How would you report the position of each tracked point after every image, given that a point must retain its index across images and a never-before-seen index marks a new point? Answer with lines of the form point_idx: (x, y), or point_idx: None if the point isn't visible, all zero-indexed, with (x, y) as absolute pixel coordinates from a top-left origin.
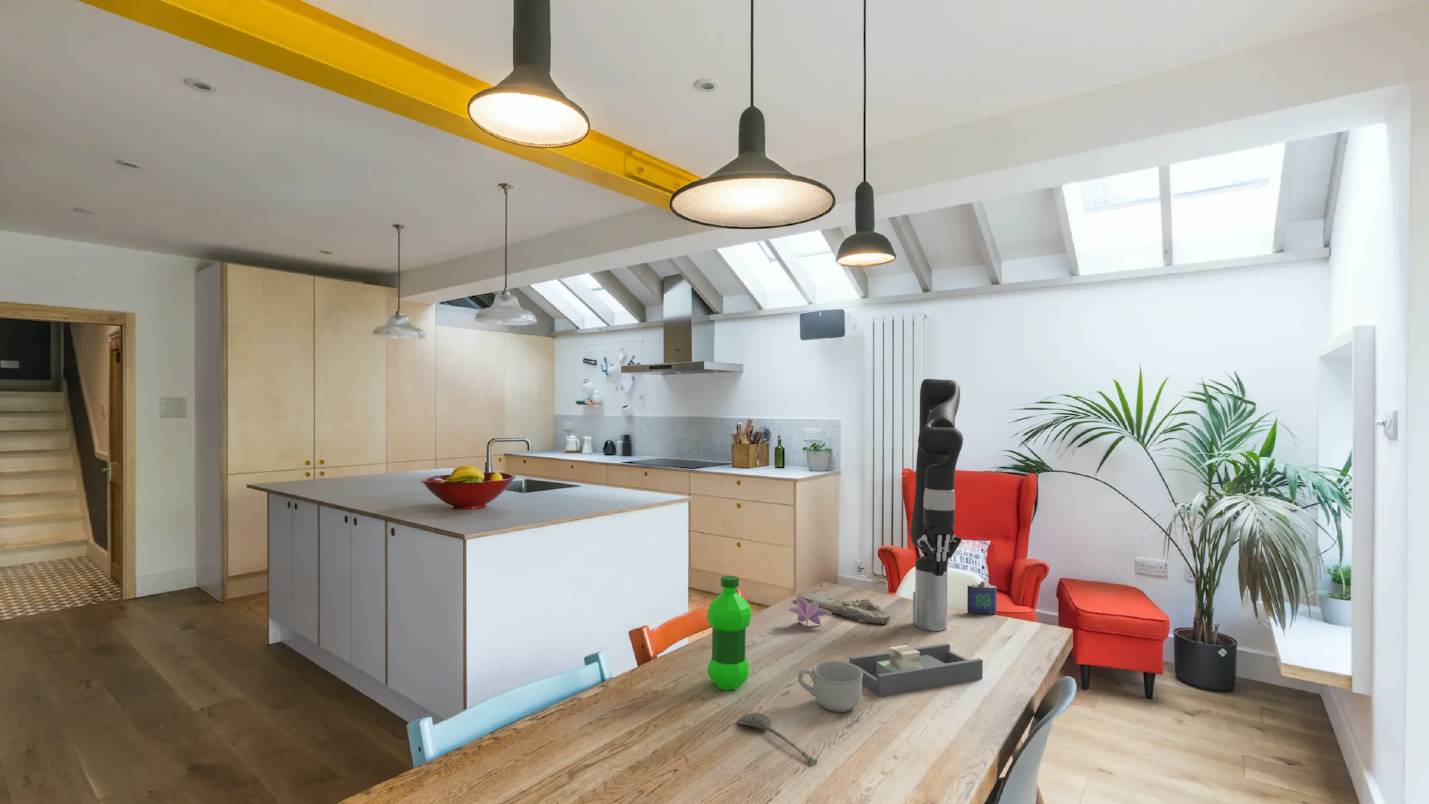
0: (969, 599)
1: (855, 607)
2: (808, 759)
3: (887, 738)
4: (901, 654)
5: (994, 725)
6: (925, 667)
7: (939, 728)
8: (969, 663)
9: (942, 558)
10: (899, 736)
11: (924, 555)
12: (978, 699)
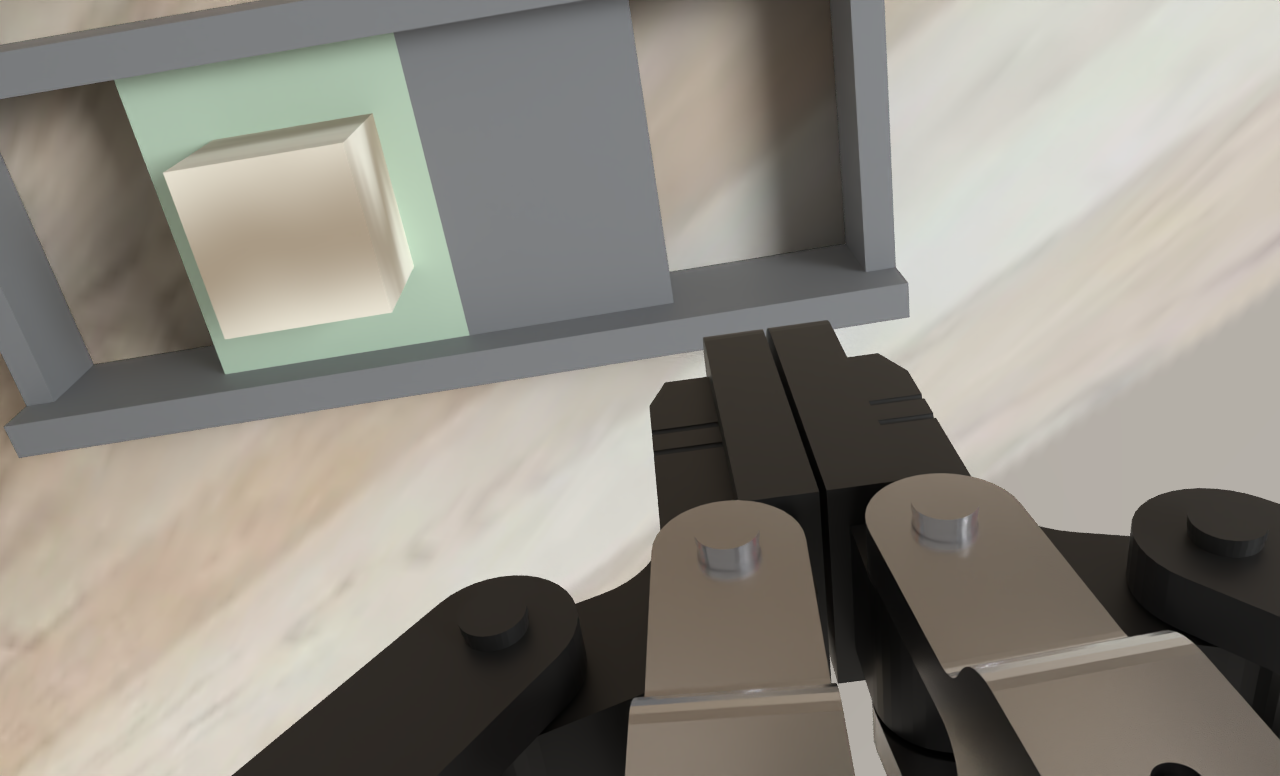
0: None
1: None
2: None
3: (6, 753)
4: (220, 322)
5: None
6: (405, 372)
7: (280, 716)
8: None
9: (885, 758)
10: (66, 747)
11: (397, 655)
12: (648, 508)
